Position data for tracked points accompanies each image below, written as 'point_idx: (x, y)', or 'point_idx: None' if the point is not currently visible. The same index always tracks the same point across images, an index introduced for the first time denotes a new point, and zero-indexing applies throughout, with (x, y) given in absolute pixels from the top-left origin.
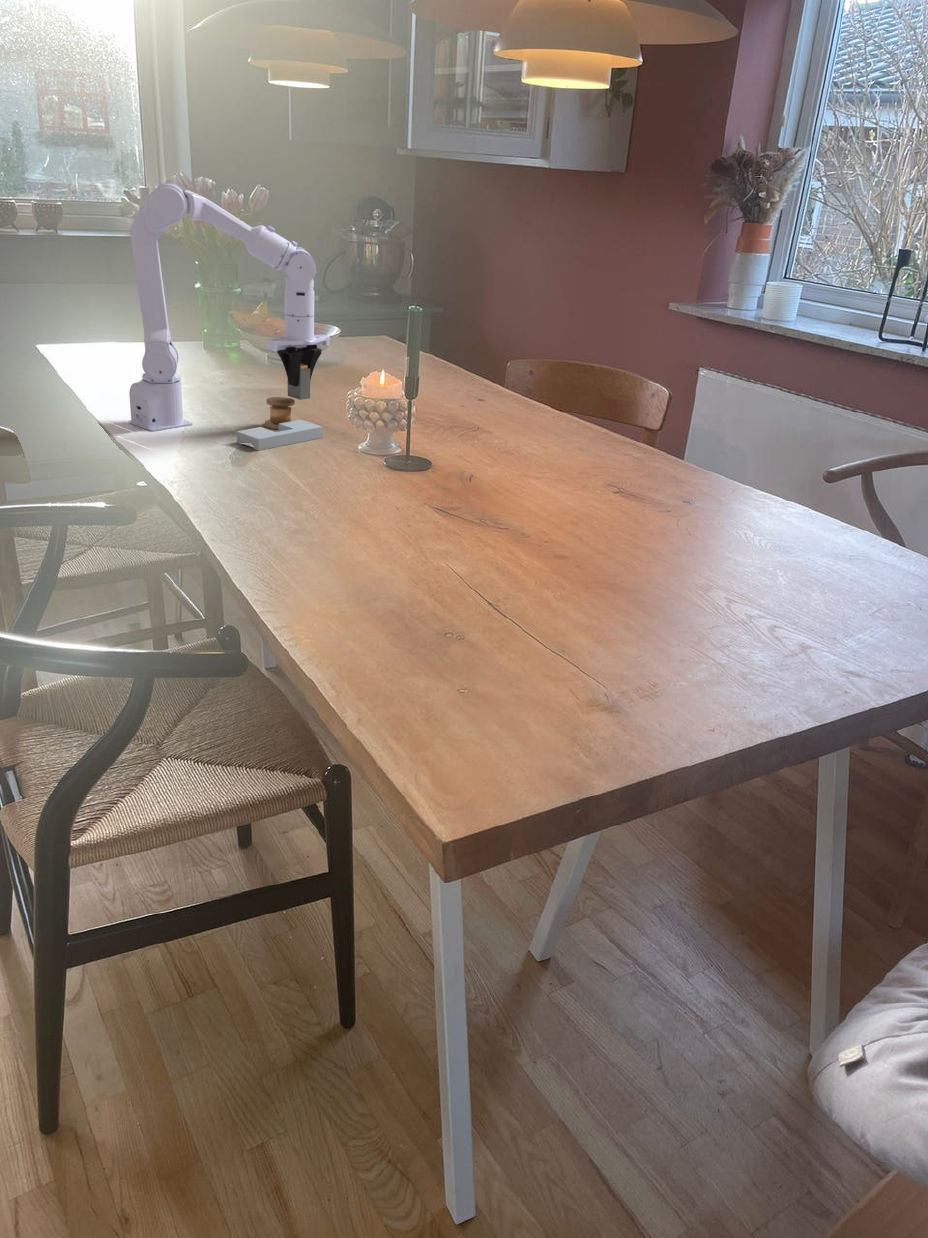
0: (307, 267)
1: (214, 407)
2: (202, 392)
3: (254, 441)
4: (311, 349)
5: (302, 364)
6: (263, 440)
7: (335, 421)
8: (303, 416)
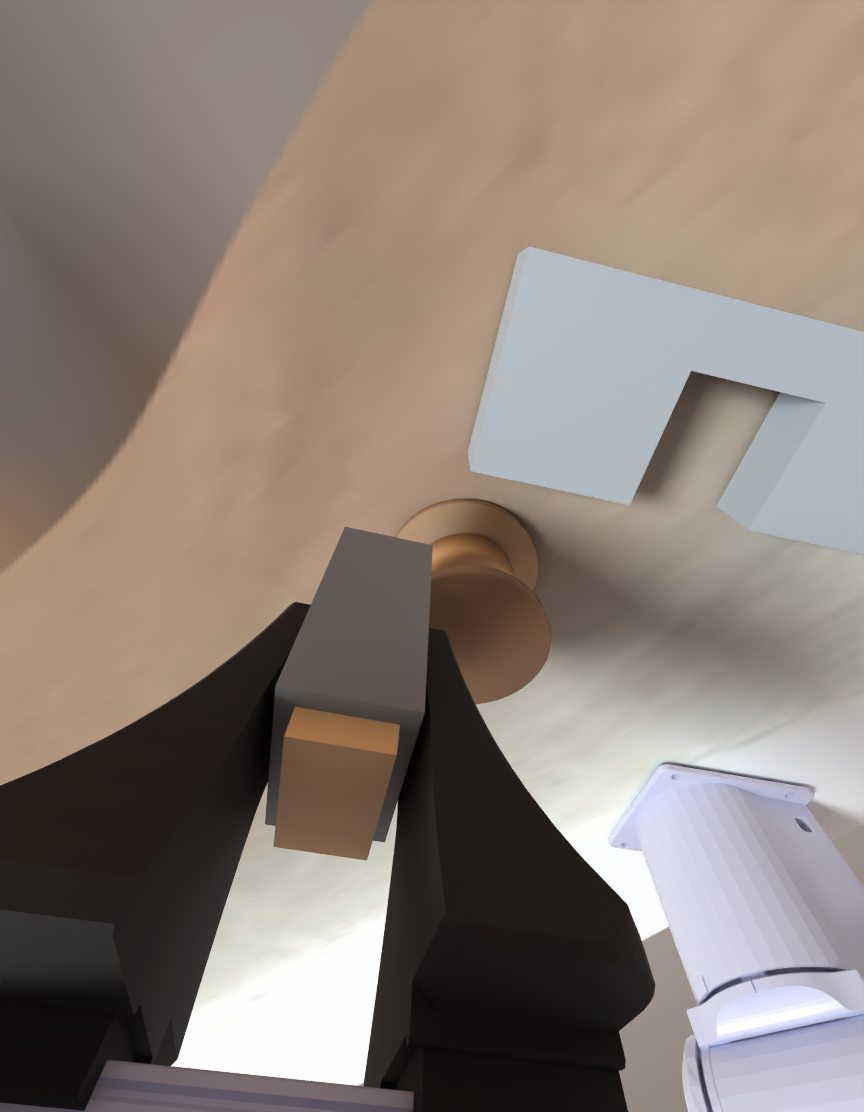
0: None
1: None
2: (307, 904)
3: None
4: (112, 973)
5: (305, 780)
6: None
7: (171, 437)
8: (245, 593)
